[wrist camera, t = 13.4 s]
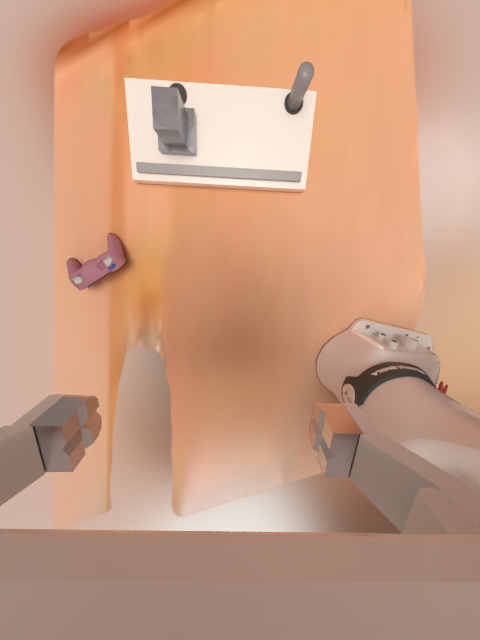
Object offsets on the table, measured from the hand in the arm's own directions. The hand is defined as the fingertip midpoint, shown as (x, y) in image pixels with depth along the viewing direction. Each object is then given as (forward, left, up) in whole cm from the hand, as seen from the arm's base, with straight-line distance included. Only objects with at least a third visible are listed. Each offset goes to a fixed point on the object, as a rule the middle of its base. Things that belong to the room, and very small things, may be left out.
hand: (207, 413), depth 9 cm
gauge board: (+2, -21, -34) cm, 40 cm away
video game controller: (+22, -3, -34) cm, 41 cm away
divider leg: (+8, -22, -32) cm, 39 cm away
